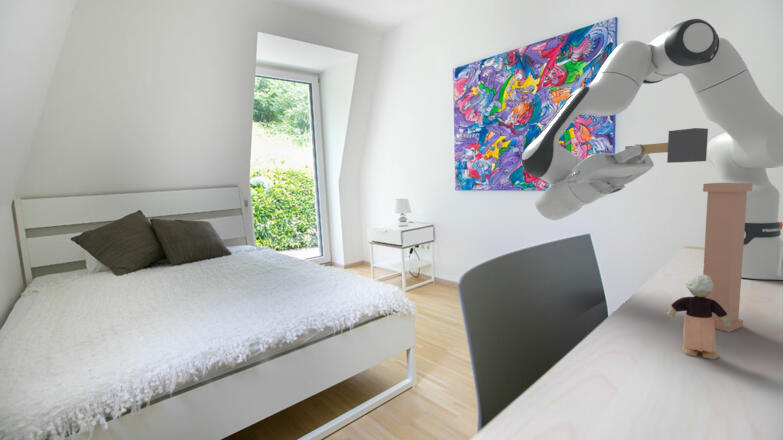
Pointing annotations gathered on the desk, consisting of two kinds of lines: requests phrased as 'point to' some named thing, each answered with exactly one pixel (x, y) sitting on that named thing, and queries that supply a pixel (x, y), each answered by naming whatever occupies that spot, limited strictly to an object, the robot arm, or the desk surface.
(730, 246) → the stand
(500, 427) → the desk surface
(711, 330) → the grandmother figurine
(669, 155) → the mallet
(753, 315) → the desk surface
